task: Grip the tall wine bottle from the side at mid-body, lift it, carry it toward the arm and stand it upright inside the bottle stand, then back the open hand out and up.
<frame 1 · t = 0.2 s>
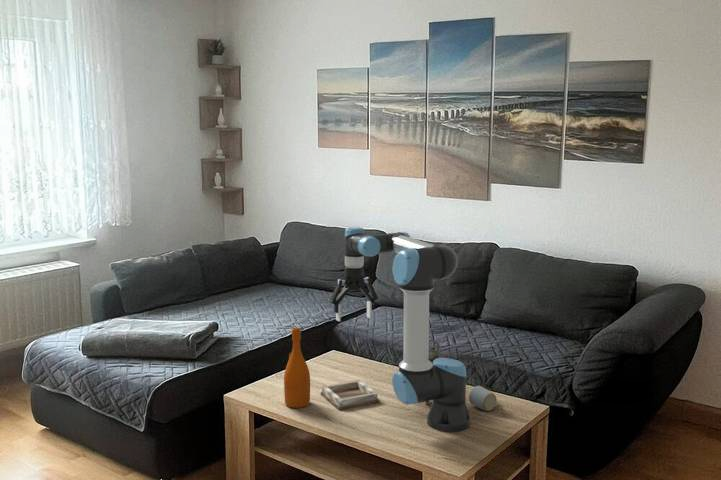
hand: (353, 319, 303), 28 cm above the table, tool pointing down, fingers open, 13 cm apart
ceramic mug: (485, 407, 286), on the table
wine bottle: (297, 404, 289), on the table
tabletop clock: (431, 403, 290), on the table
bottle stand: (349, 398, 294), on the table
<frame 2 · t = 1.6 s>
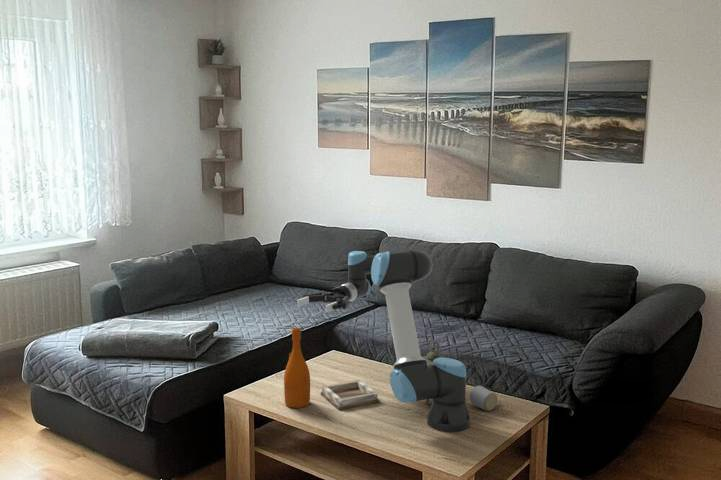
hand: (311, 306, 290), 36 cm above the table, tool horizontal, fingers open, 13 cm apart
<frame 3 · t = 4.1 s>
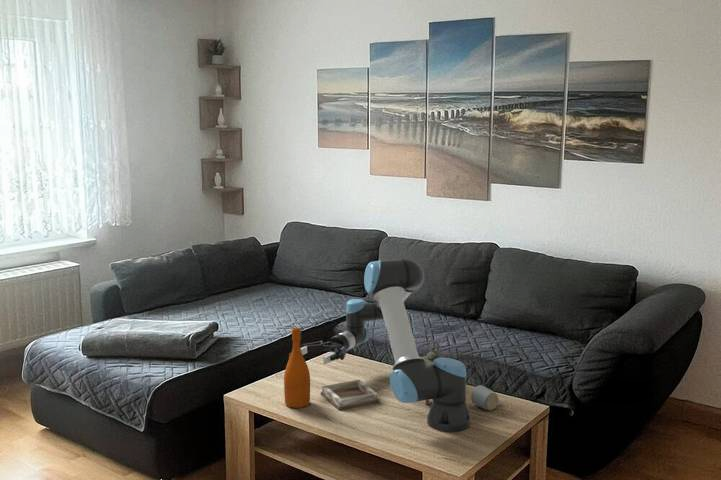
hand: (309, 357, 293), 16 cm above the table, tool horizontal, fingers open, 13 cm apart
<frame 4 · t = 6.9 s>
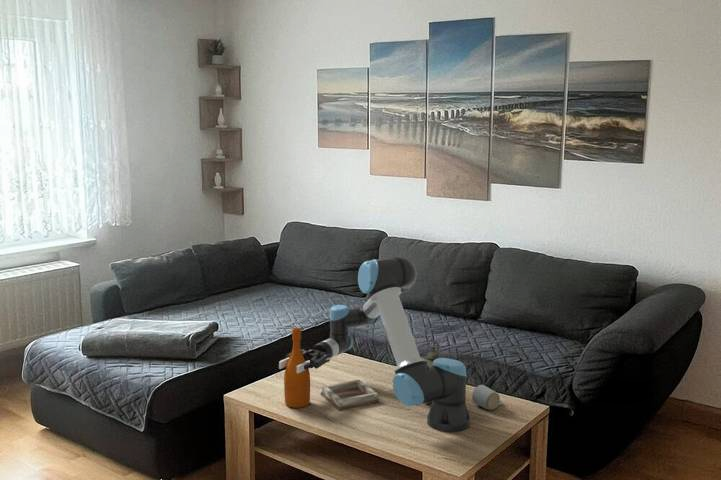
hand: (288, 367, 282), 16 cm above the table, tool horizontal, fingers closed on wine bottle, 8 cm apart
wine bottle: (297, 404, 289), on the table, touching gripper
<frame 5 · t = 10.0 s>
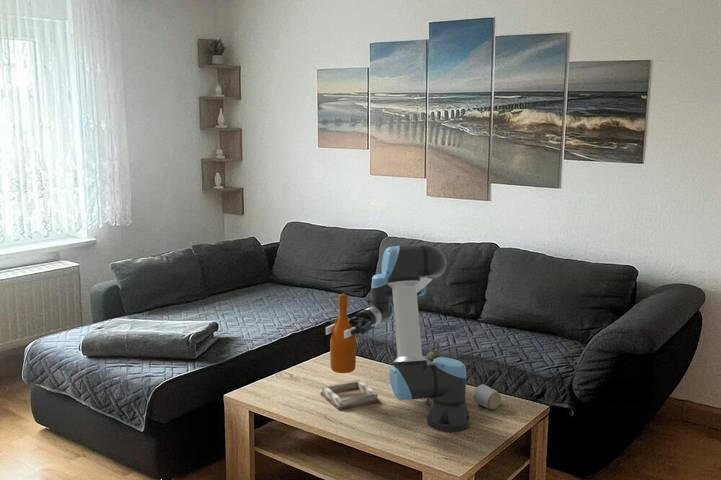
hand: (335, 332, 284), 28 cm above the table, tool horizontal, fingers closed on wine bottle, 8 cm apart
wine bottle: (343, 370, 291), point 12 cm above the table, touching gripper
when the fingers open (18 cm above the table, at t = 13.1 s): wine bottle stays where it is, resting on bottle stand.
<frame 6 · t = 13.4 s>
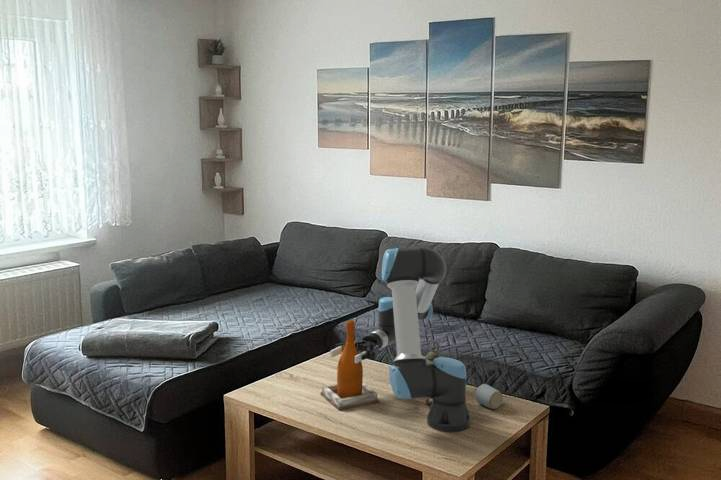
hand: (343, 357, 287), 18 cm above the table, tool horizontal, fingers open, 10 cm apart
wine bottle: (349, 396, 294), point 1 cm above the table, touching bottle stand
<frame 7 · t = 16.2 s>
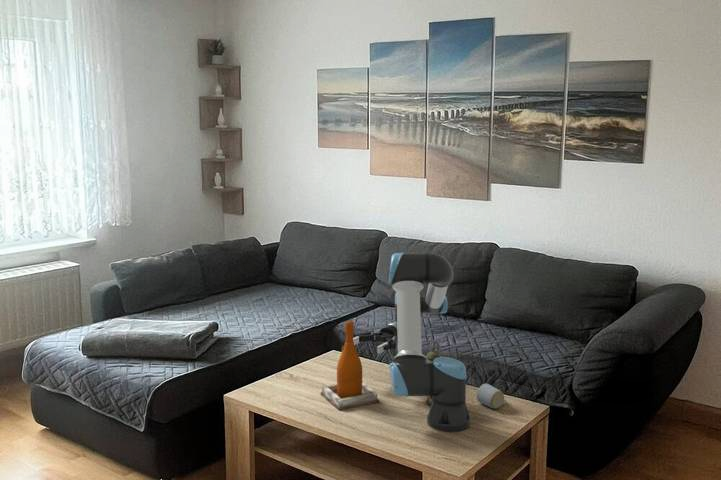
hand: (363, 347, 299), 18 cm above the table, tool horizontal, fingers open, 13 cm apart
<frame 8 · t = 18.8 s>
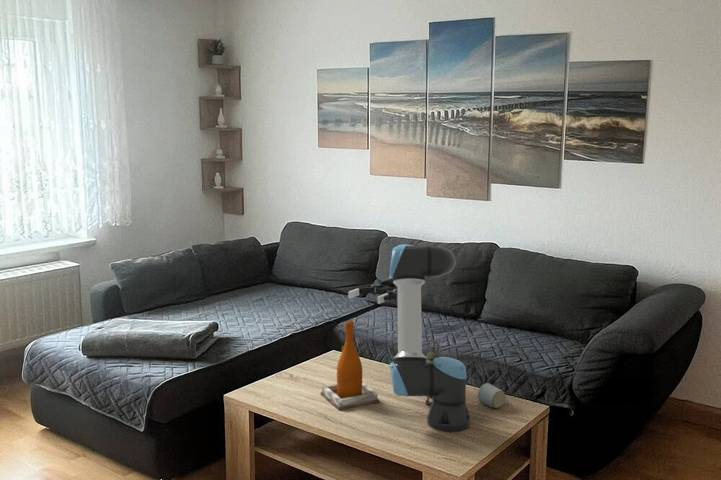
hand: (363, 297, 295), 38 cm above the table, tool horizontal, fingers open, 13 cm apart
at the end: wine bottle 0.1 cm off-centre on the bottle stand, point 0.8 cm above the bottle stand's base; wine bottle tilted 0°; the gripper is holding nothing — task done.
